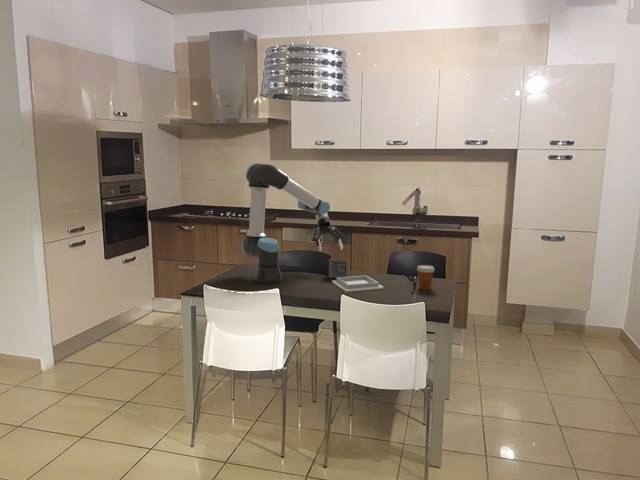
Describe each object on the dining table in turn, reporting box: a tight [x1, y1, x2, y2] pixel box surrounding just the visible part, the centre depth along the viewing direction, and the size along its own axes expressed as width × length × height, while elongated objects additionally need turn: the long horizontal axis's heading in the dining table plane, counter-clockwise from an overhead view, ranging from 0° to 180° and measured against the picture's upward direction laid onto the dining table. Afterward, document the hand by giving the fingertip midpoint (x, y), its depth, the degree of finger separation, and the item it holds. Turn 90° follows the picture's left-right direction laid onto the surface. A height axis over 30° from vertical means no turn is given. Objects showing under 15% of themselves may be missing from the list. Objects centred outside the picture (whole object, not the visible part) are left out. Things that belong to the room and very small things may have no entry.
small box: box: [327, 258, 348, 280], centre depth 296 cm, size 11×6×10 cm, turn 84°
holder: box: [331, 274, 384, 293], centre depth 280 cm, size 22×20×3 cm
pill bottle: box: [416, 264, 436, 291], centre depth 276 cm, size 10×10×12 cm
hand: (331, 249), depth 304 cm, fingers open, 13 cm apart
